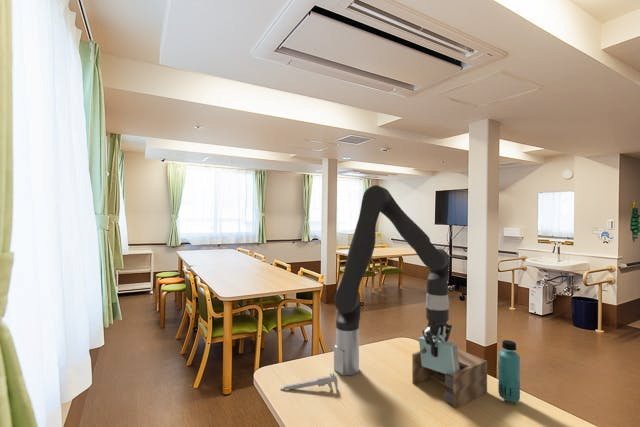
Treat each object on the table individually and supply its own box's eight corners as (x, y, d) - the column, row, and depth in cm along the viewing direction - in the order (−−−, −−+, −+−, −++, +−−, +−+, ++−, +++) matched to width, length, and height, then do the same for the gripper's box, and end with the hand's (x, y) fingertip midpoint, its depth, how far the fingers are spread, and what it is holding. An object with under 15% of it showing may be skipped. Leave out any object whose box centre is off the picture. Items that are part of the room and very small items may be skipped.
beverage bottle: (517, 397, 109) (517, 339, 109) (523, 408, 103) (523, 346, 103) (496, 393, 111) (496, 336, 111) (500, 404, 105) (500, 344, 105)
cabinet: (455, 408, 103) (455, 374, 103) (412, 383, 118) (412, 353, 118) (487, 392, 113) (487, 360, 113) (443, 370, 128) (443, 343, 128)
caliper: (337, 389, 115) (337, 372, 115) (337, 391, 114) (337, 373, 114) (280, 389, 115) (280, 371, 115) (280, 391, 114) (280, 373, 114)
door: (453, 378, 104) (449, 346, 105) (419, 366, 116) (416, 338, 117) (460, 375, 106) (456, 344, 107) (426, 364, 118) (423, 336, 119)
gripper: (440, 300, 119) (441, 347, 119) (415, 306, 112) (415, 356, 112) (458, 305, 113) (459, 354, 113) (433, 312, 106) (433, 364, 106)
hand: (437, 355), depth 112 cm, fingers closed on door, 2 cm apart
